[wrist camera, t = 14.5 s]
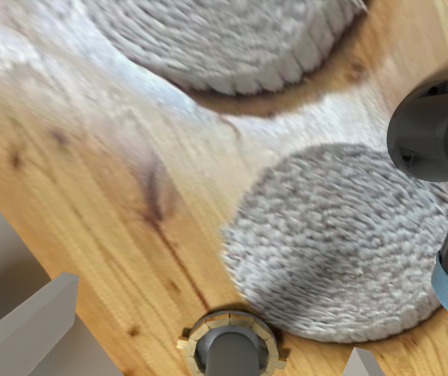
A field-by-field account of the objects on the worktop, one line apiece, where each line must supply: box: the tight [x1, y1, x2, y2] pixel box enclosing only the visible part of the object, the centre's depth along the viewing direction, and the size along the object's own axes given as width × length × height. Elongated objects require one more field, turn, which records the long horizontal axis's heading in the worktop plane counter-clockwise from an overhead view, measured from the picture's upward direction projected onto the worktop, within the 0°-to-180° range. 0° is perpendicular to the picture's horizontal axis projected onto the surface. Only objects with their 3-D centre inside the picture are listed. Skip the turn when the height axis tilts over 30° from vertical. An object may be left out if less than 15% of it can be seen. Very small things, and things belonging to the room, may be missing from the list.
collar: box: [177, 309, 287, 376], centre depth 48 cm, size 22×18×2 cm
